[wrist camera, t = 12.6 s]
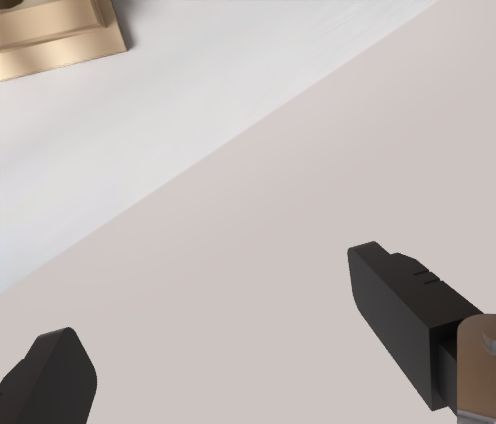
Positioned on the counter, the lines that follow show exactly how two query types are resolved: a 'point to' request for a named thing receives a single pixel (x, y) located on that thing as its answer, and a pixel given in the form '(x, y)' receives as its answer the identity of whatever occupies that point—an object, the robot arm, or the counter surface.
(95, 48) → the cradle
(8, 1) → the olive pepper mill
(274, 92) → the counter surface
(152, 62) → the counter surface
